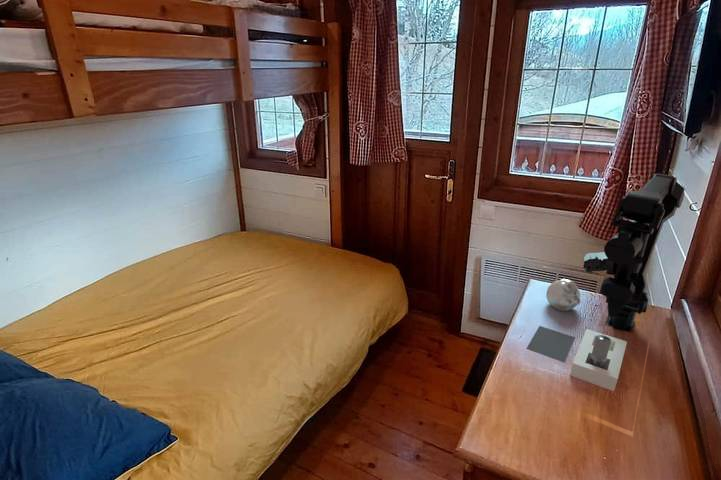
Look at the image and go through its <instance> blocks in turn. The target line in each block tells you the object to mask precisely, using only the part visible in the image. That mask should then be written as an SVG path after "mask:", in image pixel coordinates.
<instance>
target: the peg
mask: <svg viewBox="0 0 721 480" xmlns="http://www.w3.org/2000/svg"><path fill="white" fill-rule="evenodd" d="M604 335H605V334H604ZM604 335H597V336H596V339H595V343H594V346H593V350H592V354H591V358H590V362H589V364H590V365H593V366H596V367H599V368H602V369H604V365H605V362H606V358H607V354H608V351H609V347H610V343H611V339H610V338H608V337H607V336H608V335H607V336H604Z"/></svg>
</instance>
